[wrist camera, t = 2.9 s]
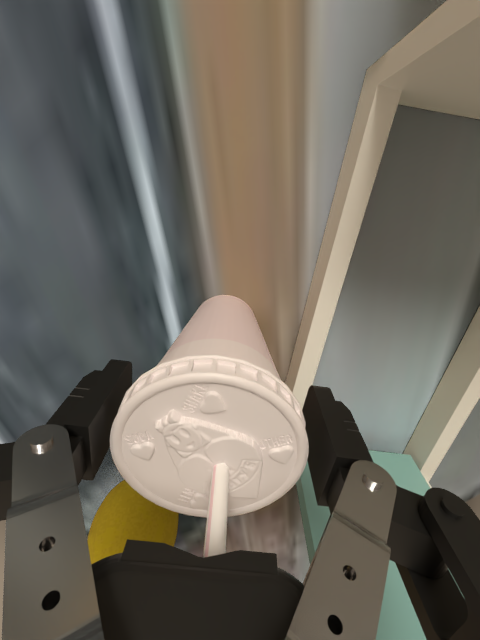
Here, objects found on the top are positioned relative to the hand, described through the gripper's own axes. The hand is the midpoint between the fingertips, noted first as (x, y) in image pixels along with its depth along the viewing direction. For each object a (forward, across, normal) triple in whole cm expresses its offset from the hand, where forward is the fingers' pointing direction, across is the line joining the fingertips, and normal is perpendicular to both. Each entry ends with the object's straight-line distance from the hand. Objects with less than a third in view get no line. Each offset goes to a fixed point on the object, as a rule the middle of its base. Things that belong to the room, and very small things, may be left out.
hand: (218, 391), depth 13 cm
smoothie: (+7, 0, 0) cm, 7 cm away
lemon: (+7, +4, +14) cm, 16 cm away
